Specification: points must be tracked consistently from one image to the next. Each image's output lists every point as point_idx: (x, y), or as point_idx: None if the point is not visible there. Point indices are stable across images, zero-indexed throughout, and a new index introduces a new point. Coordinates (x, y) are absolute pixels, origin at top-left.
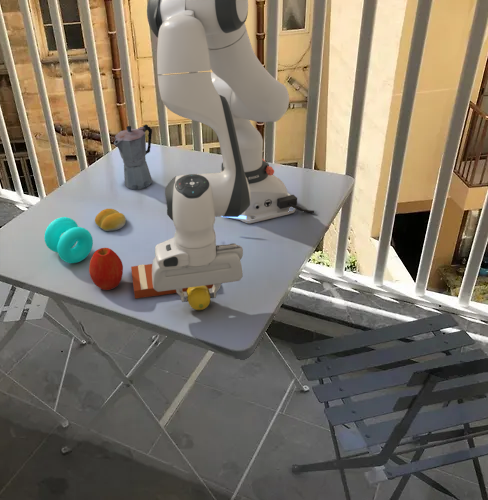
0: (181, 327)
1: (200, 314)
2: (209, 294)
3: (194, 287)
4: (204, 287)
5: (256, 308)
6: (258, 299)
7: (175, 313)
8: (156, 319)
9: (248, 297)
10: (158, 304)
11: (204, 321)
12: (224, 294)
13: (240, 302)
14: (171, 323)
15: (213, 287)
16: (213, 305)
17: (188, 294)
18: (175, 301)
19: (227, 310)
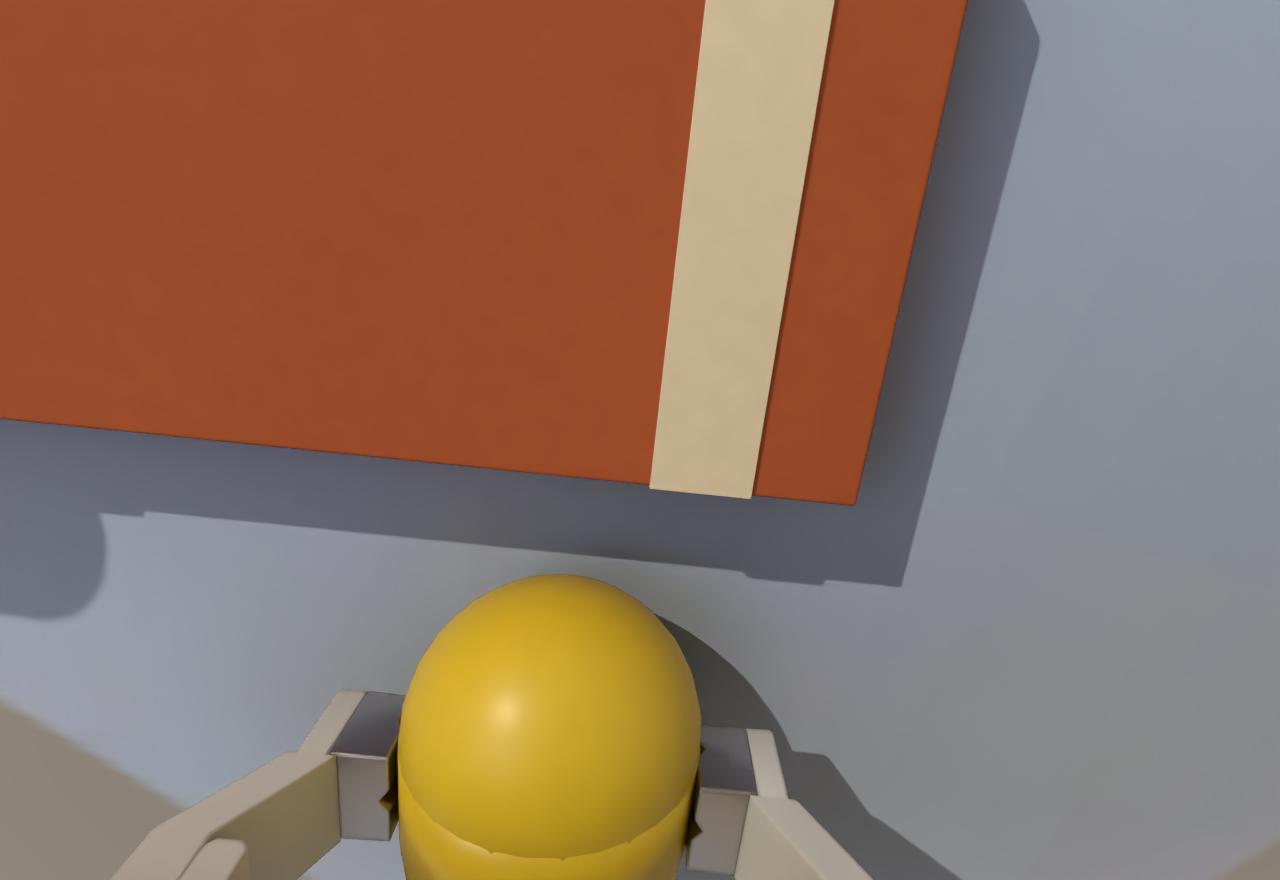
0: (349, 876)
1: None
2: (679, 860)
3: (474, 878)
4: (633, 866)
5: (1083, 857)
6: (1180, 761)
7: (311, 711)
8: (119, 734)
9: (1106, 709)
10: (131, 536)
11: None
12: (893, 595)
13: (989, 750)
14: None
15: (767, 854)
16: (712, 714)
17: (400, 823)
18: (327, 545)
19: (816, 809)
